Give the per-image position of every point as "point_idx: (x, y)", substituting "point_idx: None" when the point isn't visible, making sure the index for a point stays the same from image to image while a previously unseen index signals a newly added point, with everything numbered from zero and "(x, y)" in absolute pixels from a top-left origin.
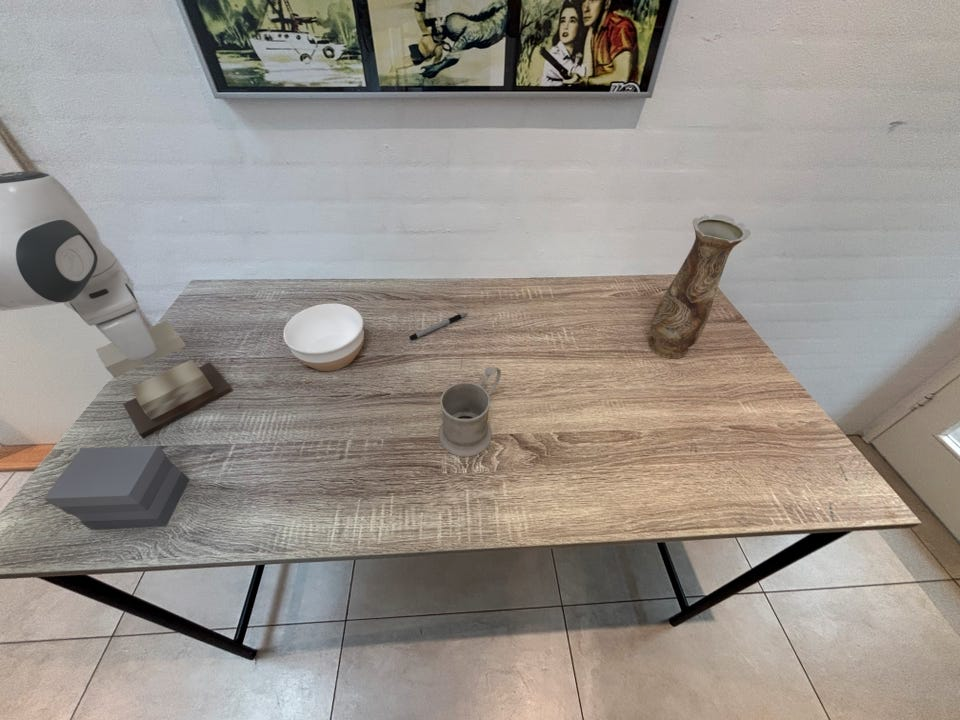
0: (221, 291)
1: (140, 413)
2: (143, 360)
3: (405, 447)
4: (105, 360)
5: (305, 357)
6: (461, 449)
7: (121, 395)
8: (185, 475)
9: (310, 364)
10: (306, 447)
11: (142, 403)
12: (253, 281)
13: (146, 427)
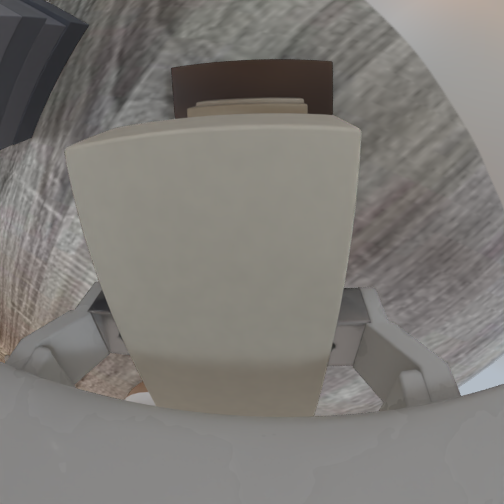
0: (491, 345)
1: (251, 84)
2: (85, 298)
3: (16, 343)
4: (135, 158)
5: (136, 400)
6: (5, 362)
7: (388, 73)
8: (21, 141)
9: (139, 387)
10: (30, 288)
11: (193, 115)
12: (462, 381)
13: (185, 85)
